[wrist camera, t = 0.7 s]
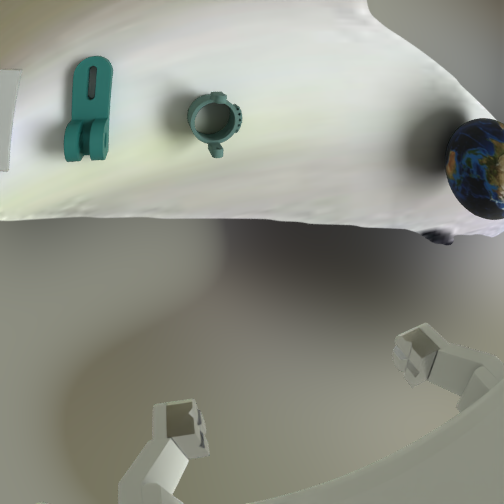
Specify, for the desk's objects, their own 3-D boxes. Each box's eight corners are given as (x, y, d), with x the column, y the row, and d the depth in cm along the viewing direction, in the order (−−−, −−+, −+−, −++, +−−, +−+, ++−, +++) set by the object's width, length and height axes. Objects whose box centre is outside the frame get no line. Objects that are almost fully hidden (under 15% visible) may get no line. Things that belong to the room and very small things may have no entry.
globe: (485, 137, 74) (548, 180, 53) (446, 198, 87) (504, 251, 66) (459, 84, 58) (544, 127, 37) (412, 159, 71) (491, 220, 50)
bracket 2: (207, 145, 54) (217, 162, 47) (176, 112, 48) (181, 124, 41) (244, 116, 52) (260, 129, 46) (215, 80, 46) (227, 87, 40)
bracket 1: (108, 149, 48) (102, 166, 42) (74, 151, 45) (65, 168, 40) (115, 55, 37) (108, 56, 31) (78, 57, 35) (66, 59, 29)
